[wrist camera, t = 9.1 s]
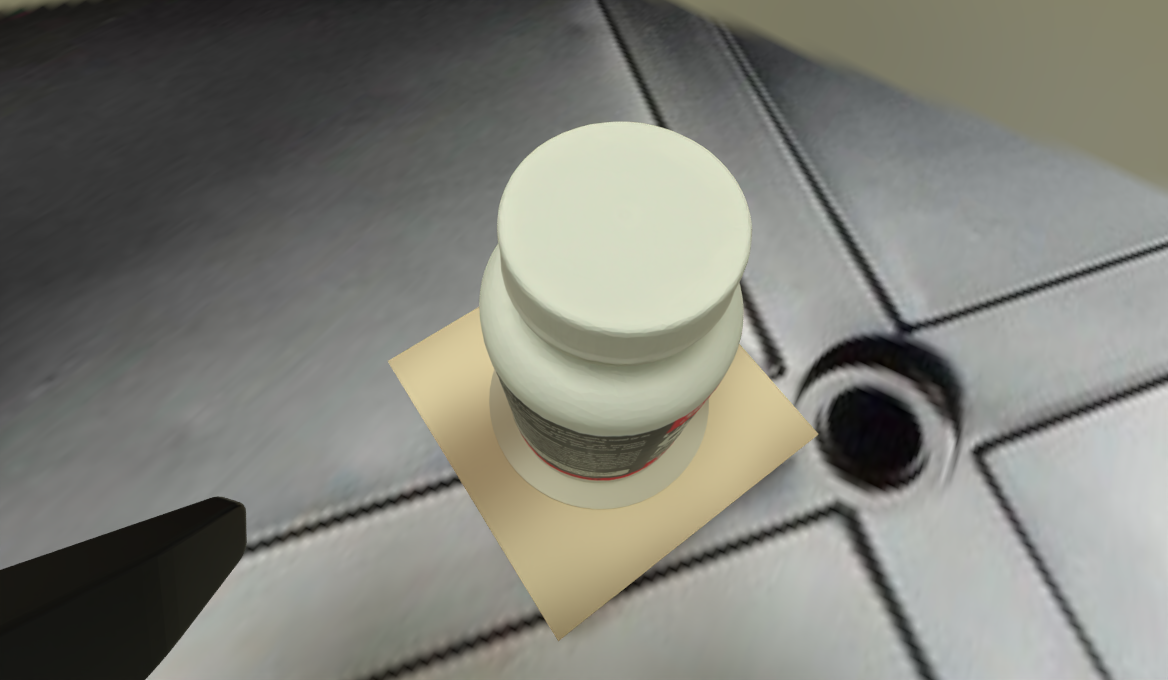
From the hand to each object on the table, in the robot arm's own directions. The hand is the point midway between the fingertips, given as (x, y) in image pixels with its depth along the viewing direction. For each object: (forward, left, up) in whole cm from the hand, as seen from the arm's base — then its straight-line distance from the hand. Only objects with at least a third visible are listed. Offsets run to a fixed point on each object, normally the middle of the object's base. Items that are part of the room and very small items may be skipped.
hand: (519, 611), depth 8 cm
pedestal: (+4, -5, -11) cm, 13 cm away
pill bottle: (+4, -5, -8) cm, 10 cm away
